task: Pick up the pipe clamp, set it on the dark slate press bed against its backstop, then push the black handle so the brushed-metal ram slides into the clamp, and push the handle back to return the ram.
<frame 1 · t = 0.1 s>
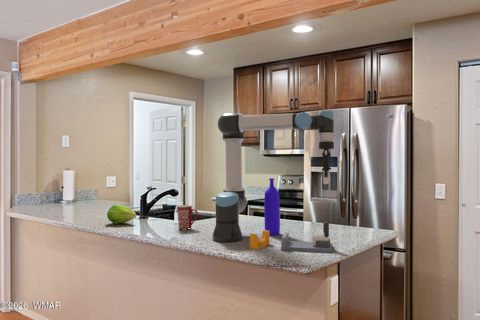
hand: (326, 183, 199), 28 cm above the counter, fingers open, 13 cm apart
mug: (187, 229, 229), on the counter
ram: (320, 233, 176), point 7 cm above the counter, slide at 0.0 cm
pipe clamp: (261, 246, 183), on the counter
bottle: (272, 234, 211), on the counter
green papaya: (122, 224, 249), on the counter
press: (296, 247, 178), on the counter
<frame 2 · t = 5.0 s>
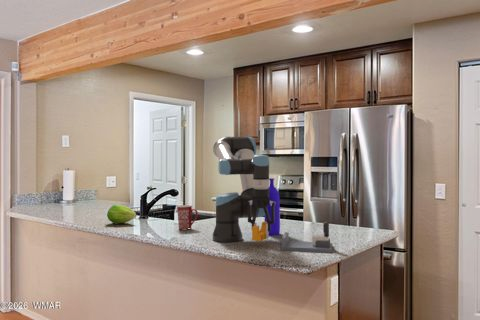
hand: (261, 237, 183), 4 cm above the counter, fingers closed on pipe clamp, 5 cm apart
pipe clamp: (262, 238, 184), point 3 cm above the counter, touching gripper
everything else where it was.
when the fingers open (2 cm above the counter, at t = 8.3 s): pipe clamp stays where it is, resting on press.
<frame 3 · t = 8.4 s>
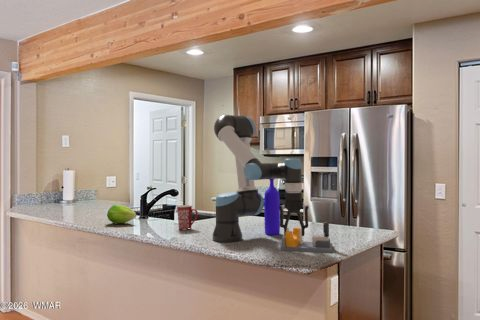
hand: (294, 242, 179), 2 cm above the counter, fingers open, 5 cm apart
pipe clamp: (294, 244, 179), point 1 cm above the counter, touching press
everything else where it was.
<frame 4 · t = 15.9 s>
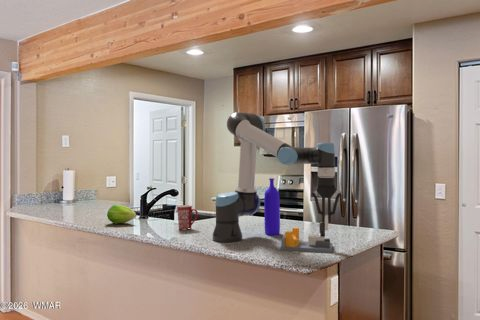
hand: (326, 229, 175), 9 cm above the counter, fingers closed
ram: (316, 233, 176), point 7 cm above the counter, slide at 1.7 cm, touching gripper
everything else where it was.
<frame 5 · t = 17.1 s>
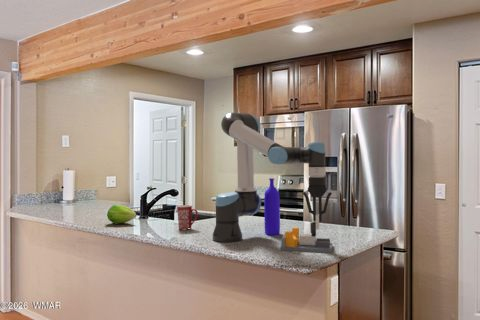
hand: (317, 228, 176), 9 cm above the counter, fingers closed
ram: (307, 233, 177), point 7 cm above the counter, slide at 5.7 cm, touching gripper
everything else where it was.
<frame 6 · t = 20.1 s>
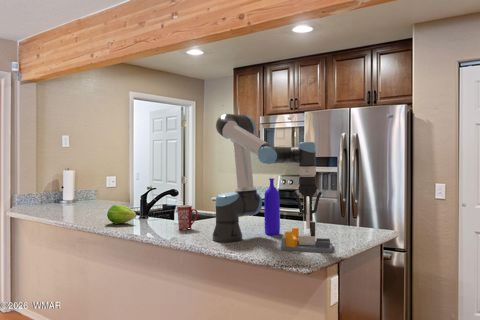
hand: (308, 228, 177), 9 cm above the counter, fingers closed
nothing on the counter moved.
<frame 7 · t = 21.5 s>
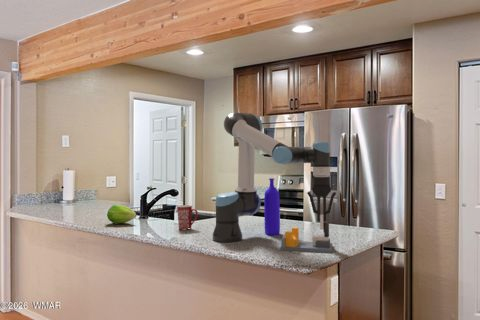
hand: (321, 228, 175), 9 cm above the counter, fingers closed
ram: (320, 233, 176), point 7 cm above the counter, slide at 0.0 cm, touching gripper
everything else where it was.
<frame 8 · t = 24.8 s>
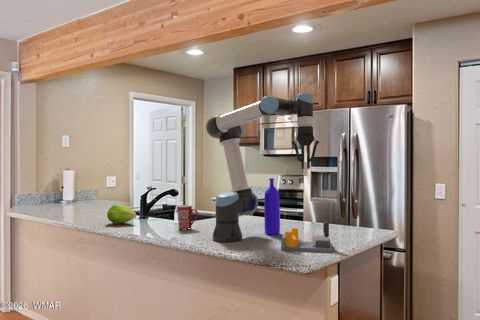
hand: (305, 175, 186), 32 cm above the counter, fingers closed
ram: (320, 233, 176), point 7 cm above the counter, slide at 0.0 cm
everything else where it was.
at the end: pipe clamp inside the target area on the press (0.5 cm from its centre), point 1.3 cm above the press's base; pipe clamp tilted 0°; ram slide at 0.0 cm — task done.
